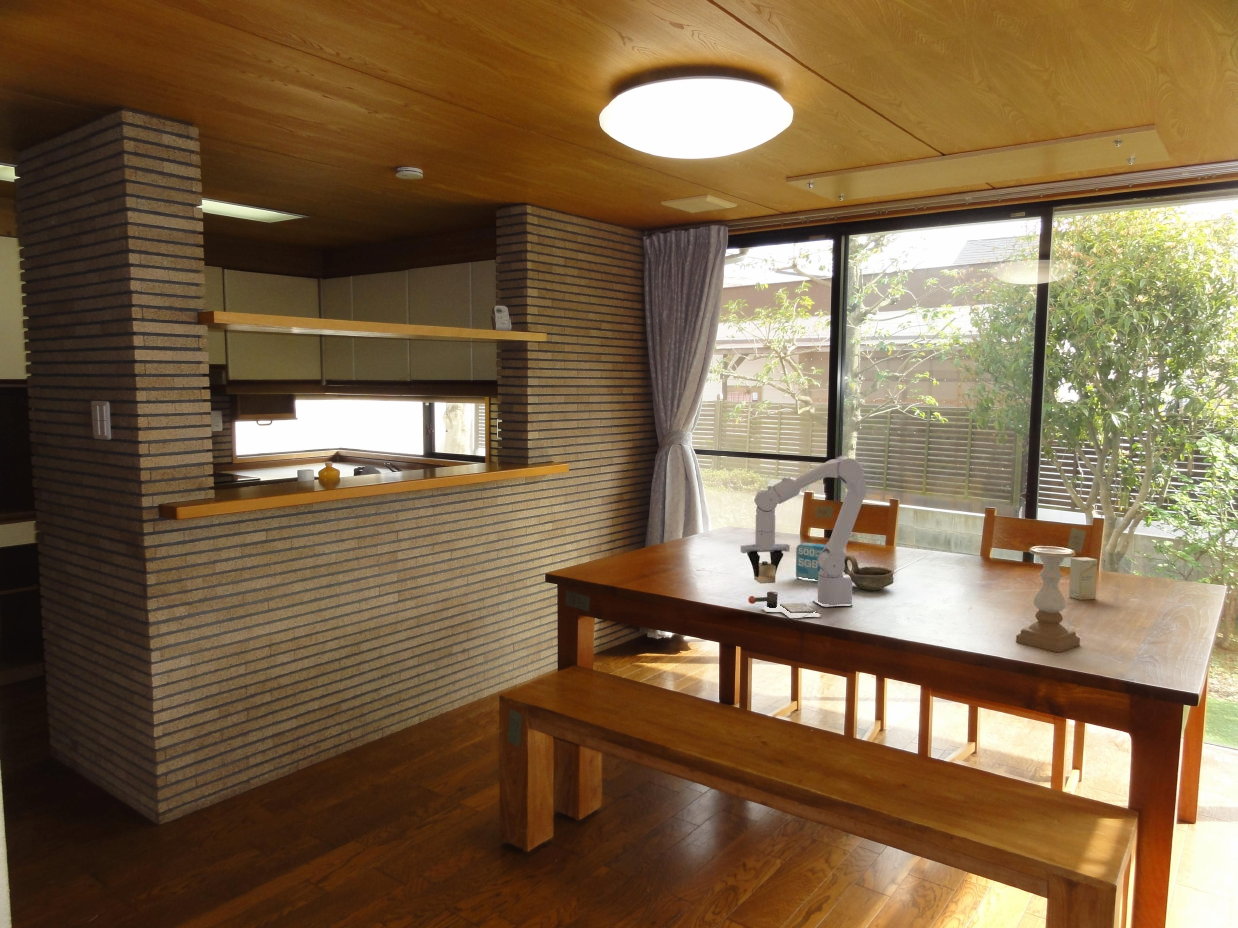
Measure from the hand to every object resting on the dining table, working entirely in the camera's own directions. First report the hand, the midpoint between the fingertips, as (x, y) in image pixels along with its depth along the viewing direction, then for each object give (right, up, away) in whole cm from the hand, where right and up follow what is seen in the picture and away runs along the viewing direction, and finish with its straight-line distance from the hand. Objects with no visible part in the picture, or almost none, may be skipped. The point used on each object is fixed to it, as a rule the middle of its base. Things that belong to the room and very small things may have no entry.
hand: (764, 575), depth 245 cm
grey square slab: (+6, -9, -9) cm, 14 cm away
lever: (-2, -8, -8) cm, 11 cm away
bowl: (+36, -7, +20) cm, 42 cm away
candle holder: (+64, -12, -38) cm, 76 cm away
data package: (+22, -6, +31) cm, 38 cm away
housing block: (0, -2, 0) cm, 2 cm away
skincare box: (+98, -8, +7) cm, 99 cm away
